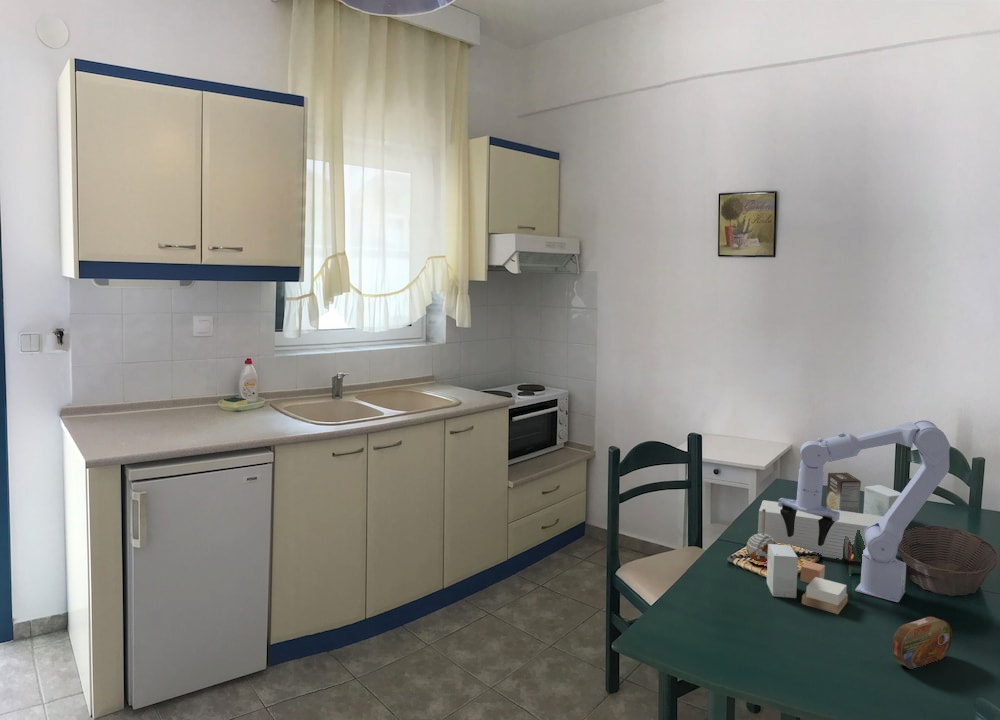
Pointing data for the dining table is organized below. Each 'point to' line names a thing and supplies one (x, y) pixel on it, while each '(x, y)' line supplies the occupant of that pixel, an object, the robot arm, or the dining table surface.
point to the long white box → (814, 529)
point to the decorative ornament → (760, 543)
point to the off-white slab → (826, 591)
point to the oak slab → (824, 604)
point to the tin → (922, 642)
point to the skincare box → (879, 499)
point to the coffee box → (843, 492)
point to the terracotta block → (811, 571)
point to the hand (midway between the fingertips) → (805, 540)
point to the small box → (782, 570)
